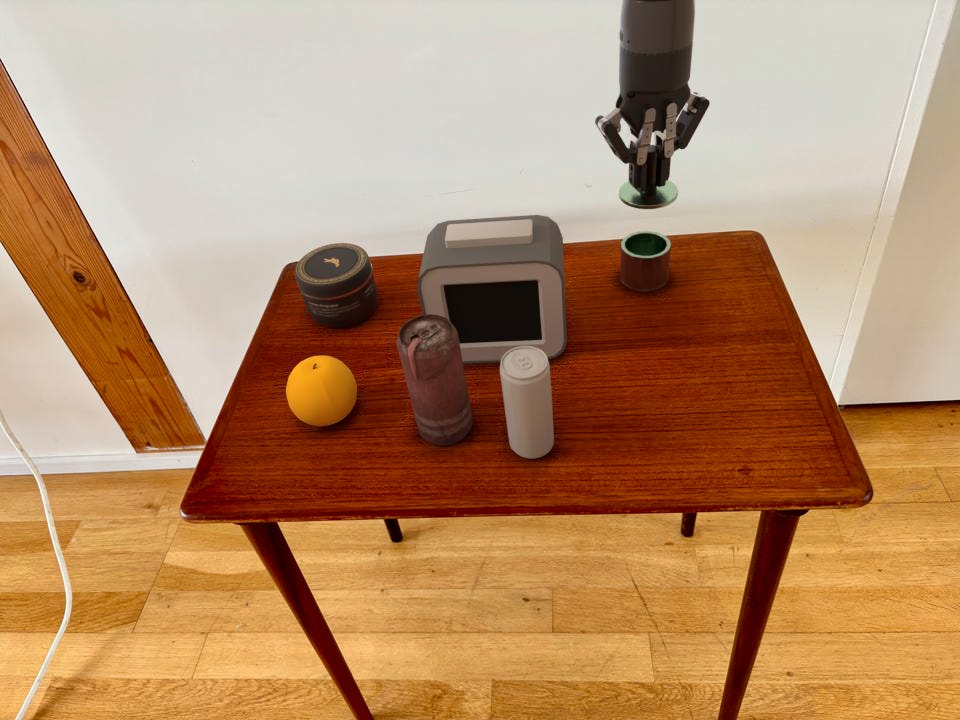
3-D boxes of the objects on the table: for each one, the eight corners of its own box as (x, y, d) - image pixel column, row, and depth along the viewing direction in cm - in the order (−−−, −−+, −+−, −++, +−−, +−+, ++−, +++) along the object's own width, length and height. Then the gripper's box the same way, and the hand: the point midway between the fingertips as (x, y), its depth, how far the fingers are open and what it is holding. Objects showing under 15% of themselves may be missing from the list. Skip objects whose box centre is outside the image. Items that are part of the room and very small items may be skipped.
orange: (295, 396, 85) (276, 349, 80) (359, 381, 86) (345, 334, 81) (296, 444, 80) (276, 397, 75) (365, 428, 80) (350, 380, 75)
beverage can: (543, 421, 78) (536, 338, 70) (562, 452, 74) (558, 368, 66) (502, 436, 77) (491, 354, 69) (520, 468, 73) (510, 385, 65)
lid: (660, 179, 90) (663, 129, 86) (688, 204, 85) (693, 153, 80) (609, 193, 89) (609, 143, 85) (634, 219, 84) (636, 168, 79)
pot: (654, 260, 98) (656, 226, 94) (676, 284, 93) (679, 249, 89) (612, 272, 97) (613, 238, 93) (633, 297, 92) (634, 262, 89)
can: (410, 445, 77) (384, 349, 68) (430, 404, 82) (408, 308, 73) (462, 453, 76) (443, 356, 66) (480, 411, 80) (464, 314, 71)
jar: (327, 284, 102) (313, 239, 97) (391, 289, 100) (380, 243, 94) (296, 328, 95) (279, 282, 90) (364, 335, 93) (350, 288, 88)
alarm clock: (433, 364, 87) (410, 258, 76) (442, 307, 95) (423, 204, 85) (567, 359, 85) (563, 249, 74) (565, 301, 93) (561, 195, 83)
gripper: (610, 62, 70) (609, 215, 82) (735, 33, 73) (716, 186, 84) (580, 41, 76) (583, 187, 87) (696, 14, 78) (684, 160, 90)
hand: (648, 185), depth 86 cm, fingers closed on lid
